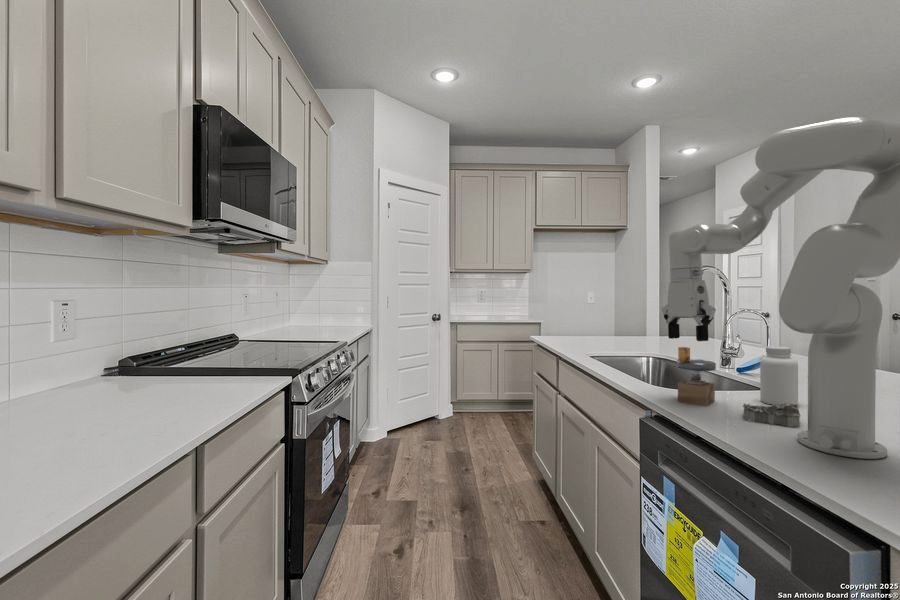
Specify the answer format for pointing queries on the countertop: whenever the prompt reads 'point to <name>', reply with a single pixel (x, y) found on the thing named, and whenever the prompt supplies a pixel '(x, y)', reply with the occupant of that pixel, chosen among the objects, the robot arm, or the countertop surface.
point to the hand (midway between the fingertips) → (687, 339)
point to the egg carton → (773, 414)
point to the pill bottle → (778, 377)
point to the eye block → (696, 392)
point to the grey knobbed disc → (693, 363)
